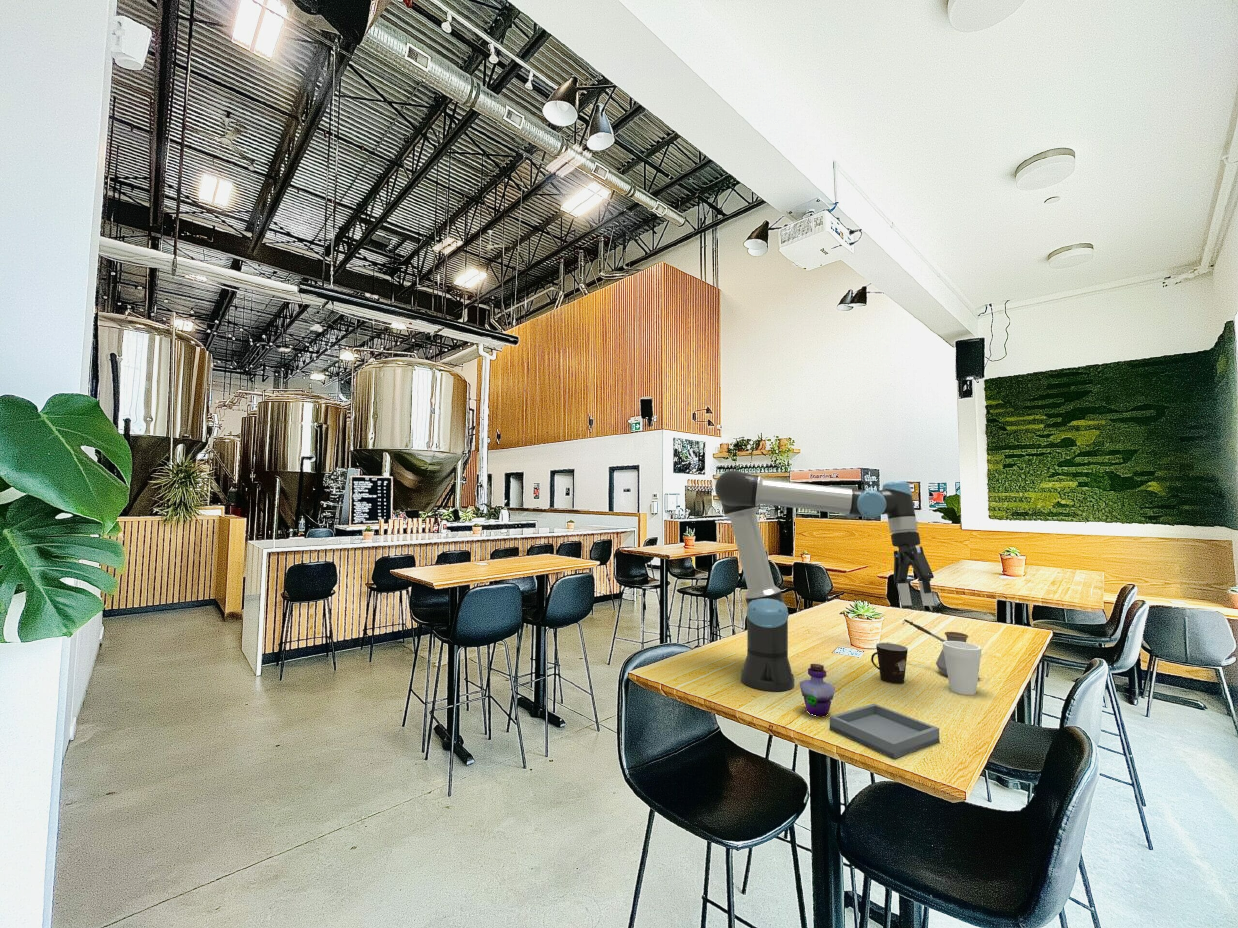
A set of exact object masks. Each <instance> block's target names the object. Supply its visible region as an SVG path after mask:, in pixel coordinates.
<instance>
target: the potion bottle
mask: <svg viewBox="0 0 1238 928" xmlns="http://www.w3.org/2000/svg"><path fill="white" fill-rule="evenodd" d="M824 668H825V666H824V665H823V664H820V663H810V667H809V668H807V675H808V676H810V679H802V681H800V682H799V687H800V692H801V696H802V697H803V701H804V705H805V711H806V710H807V711H808V712H809V713H810V714H813V715H816V716H820V717H819V718H823V717H822V716H826V715H827V714H829V713H830V709H831V705H832V701H833V699H834V695H835V691H836V687H835V685H833V684H832V683H831V682H828V681H824V678H825V677H827V671H826V669H824ZM813 715H812V716H813ZM829 715H830V714H829ZM816 716H815V717H816Z"/></svg>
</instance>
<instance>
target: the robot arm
mask: <svg viewBox="0 0 1238 928" xmlns="http://www.w3.org/2000/svg"><path fill="white" fill-rule="evenodd" d="M714 486H715V487H714V491H715V495H716V497H717V498H718V500H719V501H720V503H721V506H722V511H723V514H724V516H725V517H727V518H728V519H729V520H730V524H731V528H732V531H733V536H734V539H735V543H736V544H735V545H736V547H737V551H738V552H737V553H738V556H739V559H740V563H741V568H742V570H743V574H744V579H745V583H746V587H747V591H746V594H745V595H744V597H745V599H744V600H745V603H746V607H747V610H746V616H747V617H746V618H747V622H746V623H747V624H746V625H747V632H746V633H747V634H746V636H747V639H746V640H747V641H746V642H747V648H746V649H747V650H746V651H747V653H746V656H745V657H746V658H745V660H744V663H743V668H742V670H741V672H740V674H741V675H740V676H741V677H740V680H741V682H742V683H743V684H744V685H746V686H748V687H750V688H753V689H758V690H761V691H769V692H784V691H789V690H791V689H793V688H794V687H795V677H794V674H793V673H792V668H791V664H790V661H789V656H788V655H789V651H788V650H789V635H788V634H789V628H788V627H789V626H788V624H789V623H788V622H789V621H788V619H789V612H788V611H789V610H788V606H787V605H786V603H785V602H784V601H785V600H784V597H783V594H782V591H781V589H780V588H779V587H778V586H776V585H775V583H774V582H775V581H774V578H773V575H772V571H771V567H770V563H769V559H768V555H767V551H766V549H765V548H766V547H765V543H764V540H763V536H762V532H761V528H760V524H759V521H758V518H757V512H758V510H759V509H760V506H759V505H769V506H775V507H776V506H777V507H785V508H795V509H802V510H811V511H817V512H818V511H819V512H827V513H835V514H844V515H845V516H846V517H848V518H849V517H850V518H858V517H865V518H878V517H880V516H881V515H887V516H886V517H887V522H888V528H889V532H890V533H892V534H891V535H890V539H891V546H893V547H897V548H898V550H893V581H894V582H896V583H897V586H898V592H899V598H900V599H899V600H900V604H901V606H912V605H913V603H912V598H911V592H910V591H911V590H910V587H909V581H908V575H909V569H910V566H911V567H912V569H913V571H914V572H915V574H916V576H917V578H918V579H917V582H918V586H919V592H920V593H919V594H920V596H921V597H920V598H921V601H922V606H923V607H924V606H927V607H930V606H931V607H932V606H935V603H934V597H933V596H934V595H933V591H932V587H931V580H932V579H935V577H934V573H933V572H932V569H931V566H930V565H929V562H928V559H927V557H926V555H925V553H924V549H923V546H922V545H921V539H920V538H921V537H920V533H919V532H917V531H918V530H919V528H918V524H919V523H918V522H919V521H917V517H916V511H915V505H914V500H913V494H912V491H911V486H910V484H909V482H907V481H904V480H895V481H889V482H886V483H884V484H883V485H882V489H880V490H871V489H868V490H863V489H855V488H847V487H839V486H838V487H837V486H828V485H820V484H819V485H818V484H811V483H803V482H802V483H801V482H790V481H783V480H775V479H774V480H773V479H765V478H763V477H762V476H761V475H759V474H758V475H756V474H751V473H747V472H743V471H739V470H733V469H731V470H727V471H725V472H723V473H722V474H720V475H719V477H718V478H717V480H716V481H715V485H714ZM920 545H921V546H920Z"/></svg>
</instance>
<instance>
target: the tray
mask: <svg viewBox="0 0 1238 928" xmlns="http://www.w3.org/2000/svg"><path fill="white" fill-rule="evenodd" d="M828 716H829V730H830V729H831V730H830V731H832V730H833V732H835V733H836V734H839V735H841V736H844V737H845V736H846V737H845V738H847V737H849V738H848V739H850V738H851V739H850V740H852V739H853V740H852V741H854V740H855V741H854V742H856V741H857V743H858V742H859V743H858V744H860V743H861V745H863V746H865V747H868V748H869V749H871V750H874V751H876V752H878V753H880V752H881V753H880V754H882V753H883V754H882V755H884V754H885V756H886V755H887V757H889V758H891V759H892V760H895V759H897V758H900V757H903V755H904V756H905V755H906V756H907V755H909V754H911V753H915V752H916V751H919V750H922V749H925V748H927V747H929V746H932V745H935V744H937V743H940V742H941V741H940V740H941V739H940V727H937V726H934V725H933V724H930V723H927V722H924V721H922V720H919V719H916V718H914V717H911V716H908V715H906V714H903V713H901V712H898V711H896V710H893V709H890V708H888V707H885V706H882V705H879V704H877V703H870V704H868V705H865V706H860V707H857V708H853V709H850V710H846V711H843V712H839V713H836V714H833V715H828Z"/></svg>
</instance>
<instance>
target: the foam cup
mask: <svg viewBox="0 0 1238 928" xmlns="http://www.w3.org/2000/svg"><path fill="white" fill-rule="evenodd" d="M942 649H943V652H944V656H945V662H946V668H947V674H948V676H947V679H948V686H949V690H950V691H951V692H953V693H956V694H958V695H964V696H974V695H977V689H978V680H979V673H980V666H981V658H982V648H981V646H980V645H977V644H974V643H970V642H967V641H966V642H959V641H947V640H946V641H944V642H942Z"/></svg>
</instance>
